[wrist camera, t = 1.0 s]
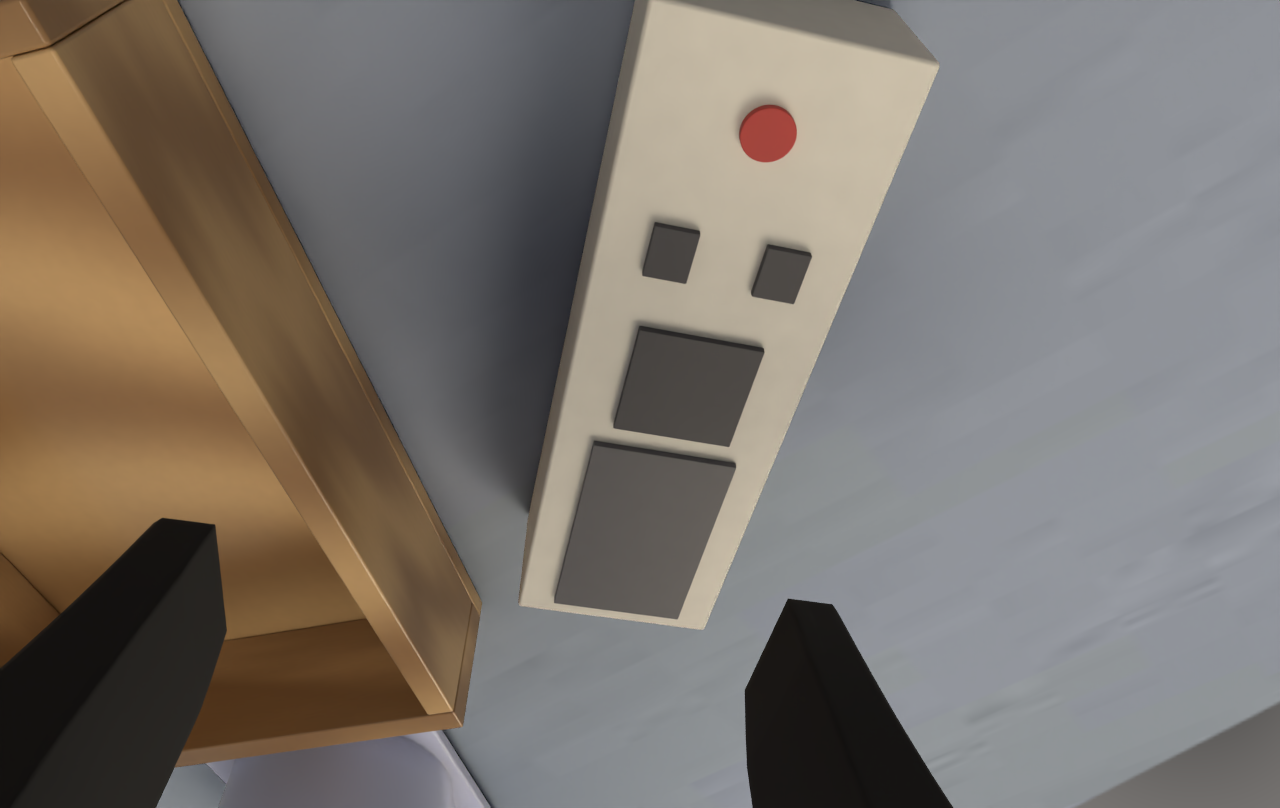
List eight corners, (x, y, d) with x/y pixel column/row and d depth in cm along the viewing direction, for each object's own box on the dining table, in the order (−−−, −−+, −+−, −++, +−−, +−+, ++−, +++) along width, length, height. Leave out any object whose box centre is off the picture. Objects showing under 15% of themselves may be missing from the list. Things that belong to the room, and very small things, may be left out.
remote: (696, 541, 25) (704, 637, 22) (527, 516, 24) (516, 612, 21) (897, 9, 16) (945, 67, 14) (645, -52, 16) (649, -3, 13)
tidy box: (483, 602, 26) (463, 727, 23) (104, 662, 28) (37, 787, 24) (144, -68, 15) (19, -6, 12) (-447, 89, 17) (-695, 181, 14)
